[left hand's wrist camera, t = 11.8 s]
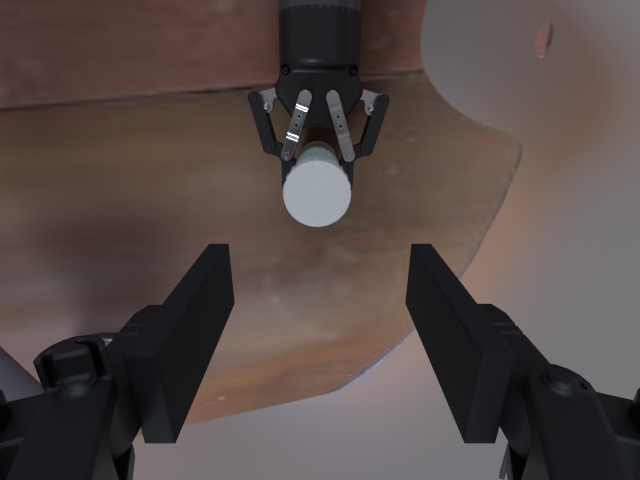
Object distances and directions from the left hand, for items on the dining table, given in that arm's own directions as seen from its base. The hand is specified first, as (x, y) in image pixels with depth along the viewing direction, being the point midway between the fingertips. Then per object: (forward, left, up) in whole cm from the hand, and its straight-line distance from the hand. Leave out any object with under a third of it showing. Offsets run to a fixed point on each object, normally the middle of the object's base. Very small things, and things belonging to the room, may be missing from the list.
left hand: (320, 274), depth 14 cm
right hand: (-3, 0, -24) cm, 25 cm away
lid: (0, 0, -14) cm, 14 cm away
